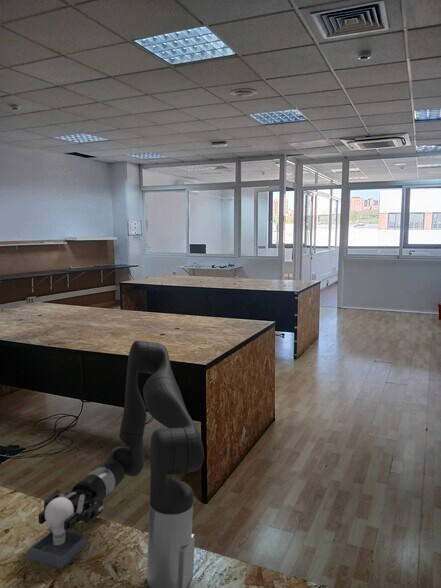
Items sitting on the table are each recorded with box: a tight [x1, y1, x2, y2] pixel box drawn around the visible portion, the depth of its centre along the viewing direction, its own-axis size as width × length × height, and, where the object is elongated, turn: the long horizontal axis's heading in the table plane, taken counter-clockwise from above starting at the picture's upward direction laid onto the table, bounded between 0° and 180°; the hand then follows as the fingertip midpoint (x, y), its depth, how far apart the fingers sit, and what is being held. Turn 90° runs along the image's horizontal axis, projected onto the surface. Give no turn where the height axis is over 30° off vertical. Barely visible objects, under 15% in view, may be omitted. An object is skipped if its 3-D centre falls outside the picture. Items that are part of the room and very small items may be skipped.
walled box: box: [29, 529, 87, 570], centre depth 103 cm, size 9×9×3 cm
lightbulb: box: [45, 497, 74, 545], centre depth 103 cm, size 6×6×11 cm
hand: (52, 523), depth 100 cm, fingers closed on lightbulb, 6 cm apart
